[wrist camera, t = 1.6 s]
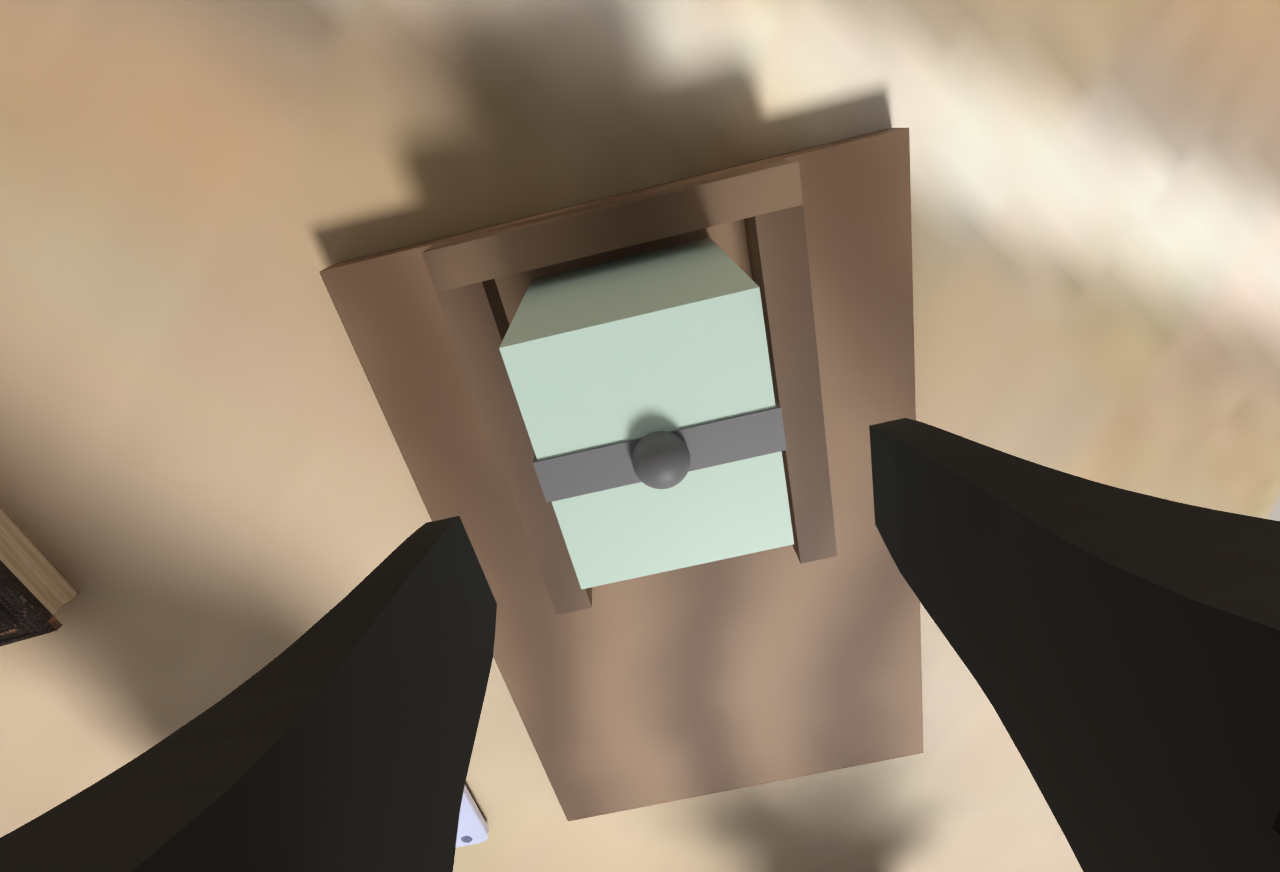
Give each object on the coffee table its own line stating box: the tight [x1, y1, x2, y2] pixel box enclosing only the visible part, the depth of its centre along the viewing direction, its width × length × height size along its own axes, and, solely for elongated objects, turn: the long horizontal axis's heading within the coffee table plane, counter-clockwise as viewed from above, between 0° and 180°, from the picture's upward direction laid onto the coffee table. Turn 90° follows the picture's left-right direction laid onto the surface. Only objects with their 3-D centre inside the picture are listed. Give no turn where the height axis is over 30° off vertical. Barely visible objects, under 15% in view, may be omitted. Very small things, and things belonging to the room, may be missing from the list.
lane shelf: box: [320, 128, 923, 821], centre depth 22 cm, size 16×25×2 cm, turn 13°
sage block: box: [499, 237, 794, 589], centre depth 15 cm, size 5×6×7 cm
